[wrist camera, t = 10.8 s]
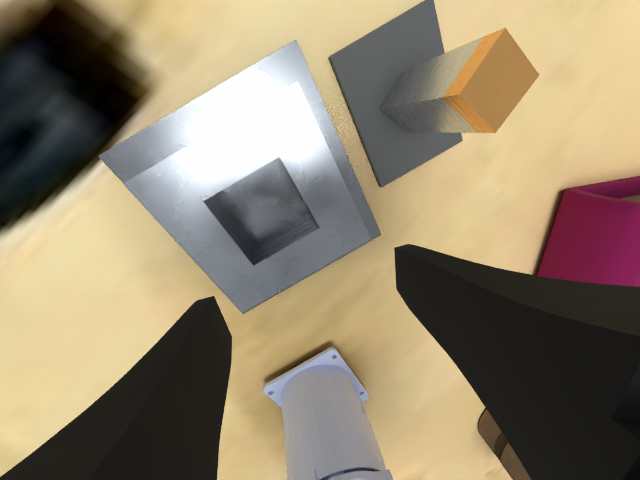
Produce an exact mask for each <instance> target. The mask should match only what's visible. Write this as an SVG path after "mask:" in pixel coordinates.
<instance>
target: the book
mask: <svg viewBox="0 0 640 480" xmlns="http://www.w3.org/2000/svg"><path fill="white" fill-rule="evenodd" d="M537 276H542V277H548V278H556V279H563V280H571V281H579V282H588V283H598V284H610V285H623V286H636V287H640V176H637V177H631V178H625V179H619V180H613V181H608V182H602V183H596V184H590V185H585V186H579V187H573V188H567V189H565V190H564V193H563V196H562V199H561V202H560V205H559V208H558V211H557V214H556V218H555V221H554V224H553V227H552V230H551V233H550V236H549V239H548V242H547V246H546V249H545V252H544V255H543V258H542V261H541V264H540V267H539V270H538V273H537Z"/></svg>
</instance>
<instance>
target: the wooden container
mask: <svg viewBox="0 0 640 480" xmlns="http://www.w3.org/2000/svg"><path fill="white" fill-rule="evenodd" d="M478 430H479V433H480V434H481V436H482V437H483V439H484V440H485V442H486V443H487V444H488V446H489V447H490V448H491V450H492V451H493V453H494V454H495V455H496V456H497V457H498V459H499V460H500V462H501V464H502V465H503V467H504V468H505V469H506V471H507V472H508V474H509V475H510V476H511V478H512V479H513V480H531V478H530V477H529V475H528V473H527V472H526V470H525V468H524V467H523V465H522V463H521V462H520V460H519V458H518V457H517V455H516V454H515V452H514V450H513V449H512V447H511V446H510V444H509V443H508V441H507V439H506V438H505V436H504V435H503V433H502V432H501V430H500V428H499V427H498V425H497V424H496V422H495V421H494V419H493V418H492V416H491V415H490V413H489V412H488V410H487V409H486V410H485V411H484V413H483V415H482V417H481V419H480V421H479V425H478Z"/></svg>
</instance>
